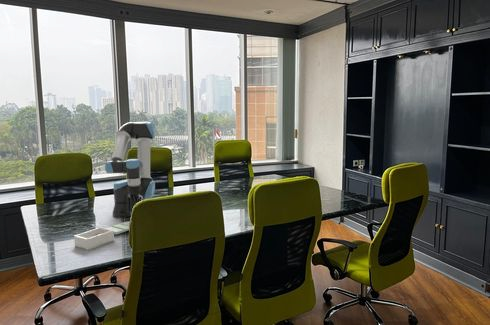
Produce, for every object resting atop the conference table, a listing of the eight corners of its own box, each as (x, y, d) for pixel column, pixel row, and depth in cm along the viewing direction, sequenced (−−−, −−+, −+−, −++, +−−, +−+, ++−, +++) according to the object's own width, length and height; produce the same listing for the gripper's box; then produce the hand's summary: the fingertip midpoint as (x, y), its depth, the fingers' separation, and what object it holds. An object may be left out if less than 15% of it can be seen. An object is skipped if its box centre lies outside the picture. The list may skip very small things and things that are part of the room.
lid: (103, 231, 213) (102, 218, 212) (132, 221, 230) (132, 209, 229) (116, 234, 207) (115, 221, 205) (145, 224, 224) (144, 212, 223)
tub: (75, 246, 193) (74, 235, 192) (101, 237, 206) (101, 227, 205) (87, 250, 187) (86, 239, 186) (114, 241, 200) (113, 230, 199)
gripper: (119, 184, 224) (122, 221, 227) (138, 187, 214) (141, 226, 217) (129, 182, 230) (132, 218, 233) (148, 185, 220) (150, 223, 224)
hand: (136, 222), depth 225 cm, fingers open, 4 cm apart
